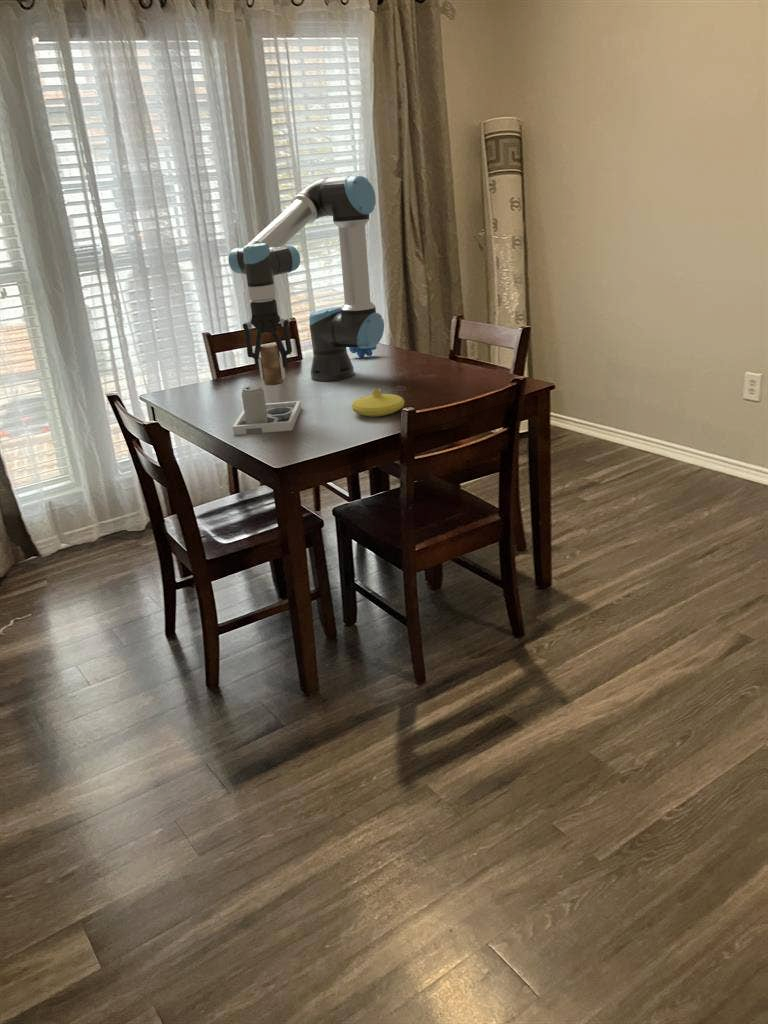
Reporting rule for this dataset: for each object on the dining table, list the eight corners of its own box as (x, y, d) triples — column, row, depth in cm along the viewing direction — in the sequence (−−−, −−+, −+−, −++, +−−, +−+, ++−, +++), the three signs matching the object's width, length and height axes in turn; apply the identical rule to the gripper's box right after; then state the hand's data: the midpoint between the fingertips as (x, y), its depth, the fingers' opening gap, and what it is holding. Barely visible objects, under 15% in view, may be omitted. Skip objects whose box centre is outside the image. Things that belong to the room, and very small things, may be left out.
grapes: (345, 361, 322) (341, 329, 317) (347, 356, 328) (344, 325, 324) (376, 359, 321) (373, 326, 316) (378, 354, 327) (375, 323, 322)
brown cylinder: (284, 380, 261) (279, 343, 256) (281, 384, 255) (277, 347, 251) (266, 381, 261) (261, 345, 257) (263, 386, 256) (258, 349, 252)
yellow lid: (354, 407, 264) (351, 385, 261) (405, 403, 263) (403, 380, 260) (350, 423, 249) (348, 399, 246) (405, 418, 248) (403, 394, 245)
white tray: (301, 408, 268) (300, 400, 267) (292, 430, 247) (291, 422, 246) (247, 413, 269) (246, 405, 268) (233, 435, 248) (232, 426, 247)
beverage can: (247, 425, 256) (241, 385, 252) (269, 422, 257) (263, 383, 252) (246, 431, 250) (239, 391, 246) (268, 429, 251) (262, 388, 246)
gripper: (296, 295, 252) (305, 373, 261) (233, 300, 253) (244, 378, 262) (293, 299, 245) (302, 379, 254) (228, 304, 246) (240, 384, 255)
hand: (273, 378), depth 258 cm, fingers closed on brown cylinder, 6 cm apart
